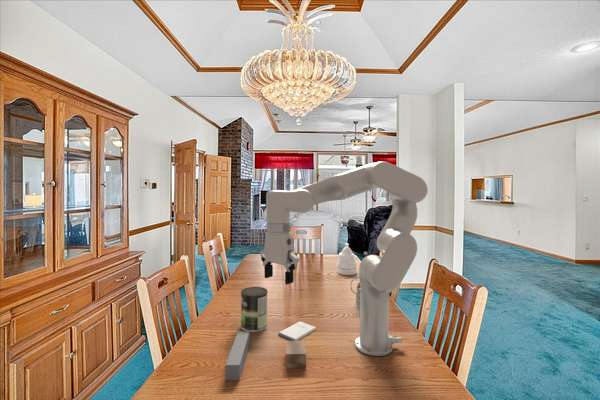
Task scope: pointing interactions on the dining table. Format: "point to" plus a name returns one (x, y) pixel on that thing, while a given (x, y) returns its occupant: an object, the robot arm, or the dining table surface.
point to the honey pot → (346, 262)
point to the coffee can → (254, 309)
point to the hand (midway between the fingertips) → (278, 280)
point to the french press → (358, 289)
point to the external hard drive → (297, 331)
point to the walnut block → (295, 354)
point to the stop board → (237, 356)
